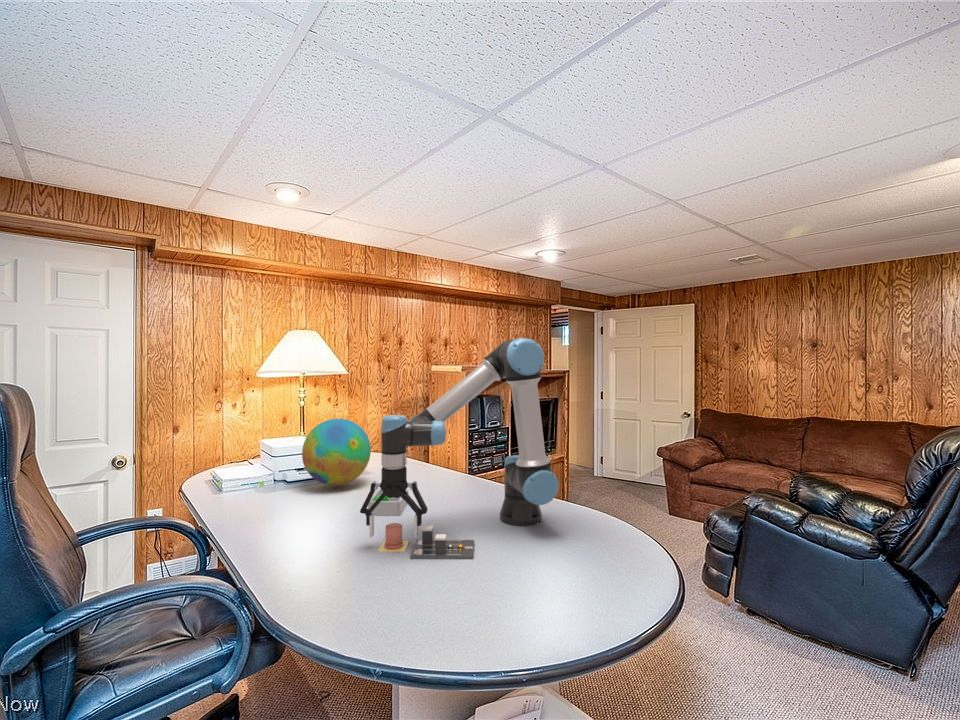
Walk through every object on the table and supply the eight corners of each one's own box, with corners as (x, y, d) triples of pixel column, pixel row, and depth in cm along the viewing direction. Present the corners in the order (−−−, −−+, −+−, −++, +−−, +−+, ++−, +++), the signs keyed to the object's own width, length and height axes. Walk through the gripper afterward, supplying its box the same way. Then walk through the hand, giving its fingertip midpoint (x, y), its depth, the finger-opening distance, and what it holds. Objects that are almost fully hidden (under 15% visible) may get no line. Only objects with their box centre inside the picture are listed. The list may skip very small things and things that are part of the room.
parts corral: (408, 500, 190) (408, 488, 190) (400, 515, 172) (400, 502, 172) (379, 500, 190) (379, 488, 190) (367, 515, 172) (367, 501, 172)
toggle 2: (446, 549, 137) (446, 534, 137) (445, 554, 134) (445, 538, 134) (436, 549, 137) (436, 534, 137) (435, 554, 134) (435, 538, 134)
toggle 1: (433, 540, 144) (433, 525, 144) (432, 544, 141) (432, 529, 141) (423, 540, 144) (423, 525, 144) (422, 544, 141) (422, 529, 141)
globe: (288, 491, 202) (288, 422, 202) (322, 474, 231) (322, 414, 231) (353, 495, 197) (353, 424, 197) (380, 477, 226) (380, 415, 226)
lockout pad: (409, 542, 146) (409, 540, 146) (404, 553, 138) (404, 551, 138) (383, 542, 147) (383, 540, 147) (377, 553, 139) (377, 550, 139)
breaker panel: (474, 544, 145) (474, 537, 145) (473, 561, 133) (473, 553, 133) (416, 544, 145) (416, 536, 145) (410, 560, 133) (410, 552, 133)
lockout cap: (404, 542, 145) (404, 522, 145) (401, 549, 140) (401, 529, 140) (386, 541, 145) (386, 522, 145) (382, 549, 140) (382, 529, 140)
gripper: (436, 463, 146) (436, 531, 146) (356, 463, 146) (356, 531, 146) (433, 469, 138) (433, 541, 139) (349, 469, 139) (349, 540, 139)
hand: (394, 536), depth 142 cm, fingers open, 13 cm apart
